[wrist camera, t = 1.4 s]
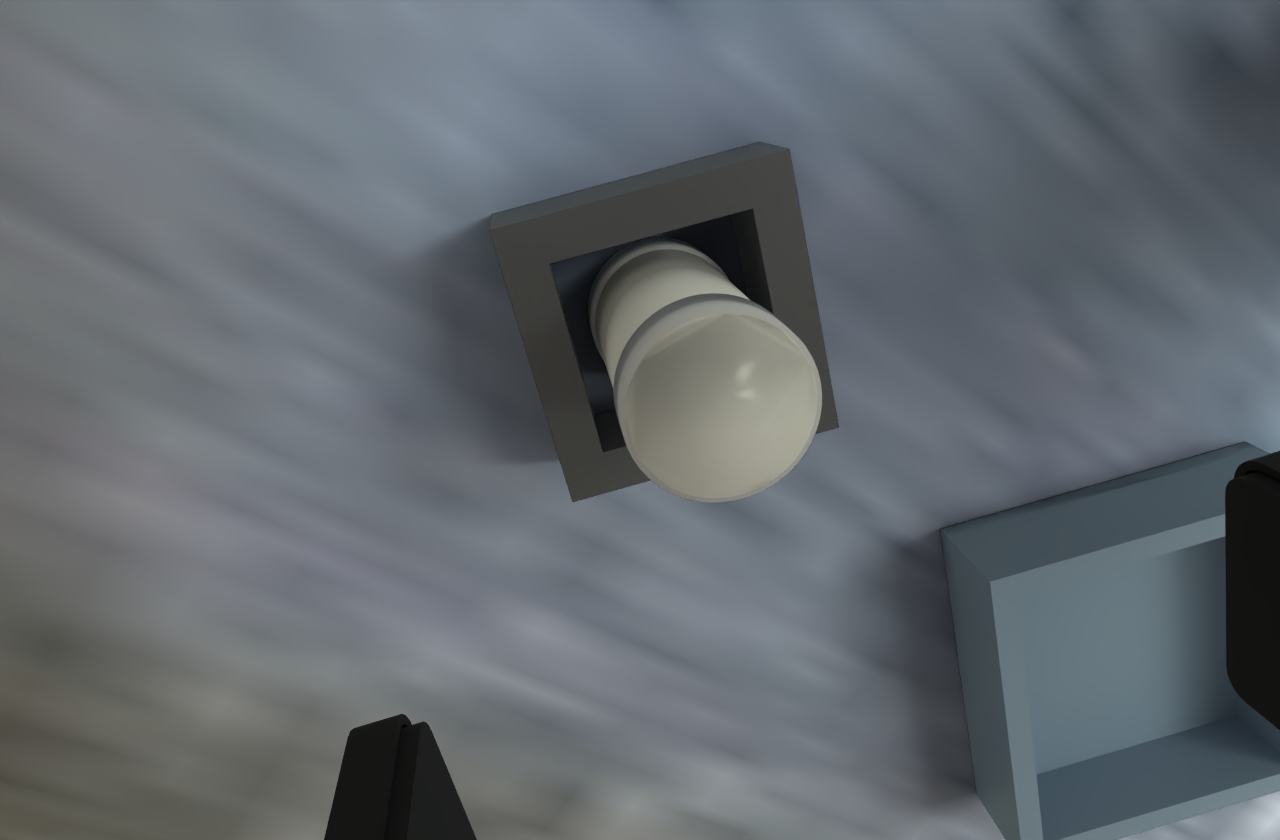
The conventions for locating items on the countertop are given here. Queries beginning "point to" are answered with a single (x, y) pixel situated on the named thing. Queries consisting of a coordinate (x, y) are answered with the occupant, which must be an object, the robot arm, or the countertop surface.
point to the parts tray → (1105, 657)
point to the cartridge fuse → (701, 374)
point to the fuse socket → (633, 210)
